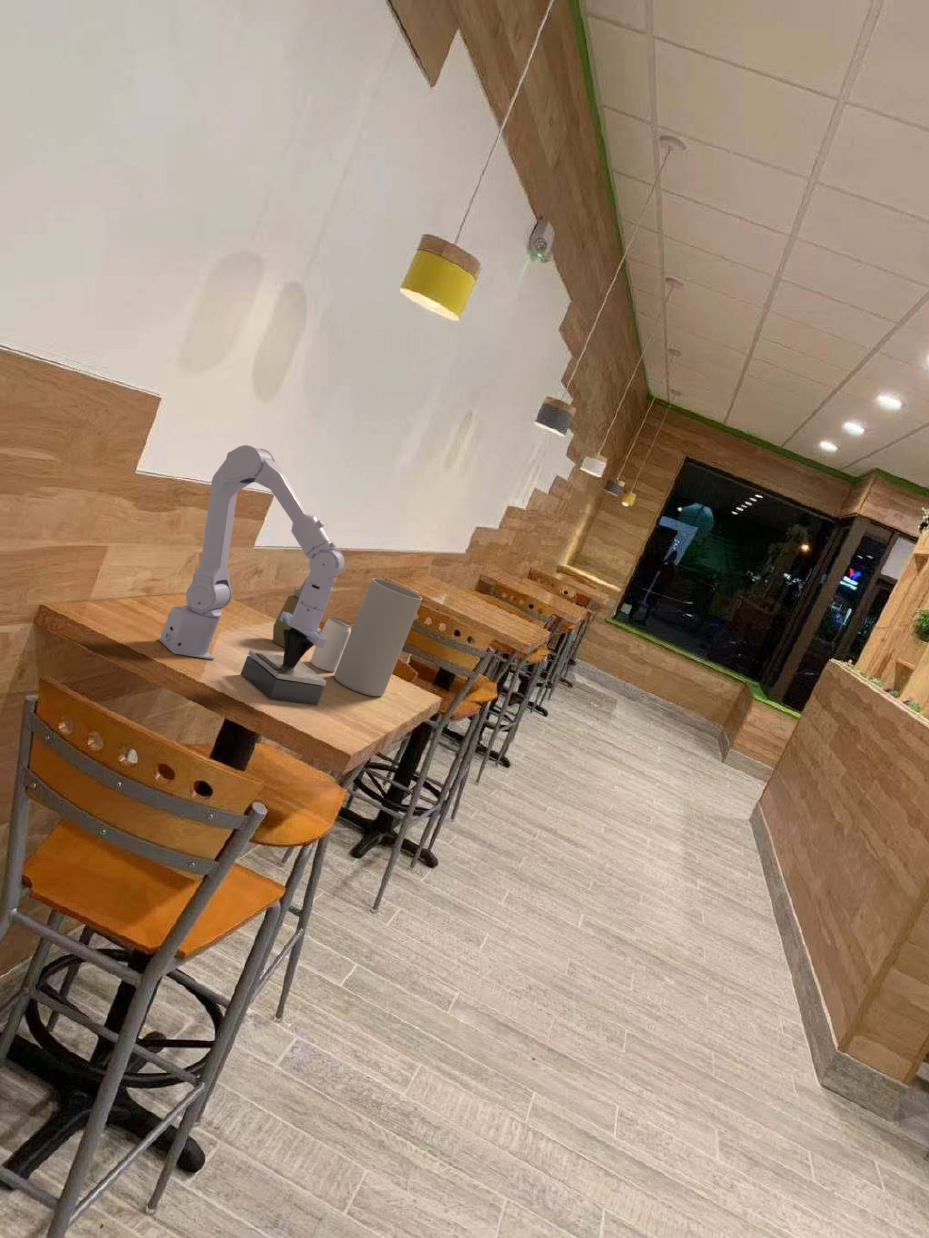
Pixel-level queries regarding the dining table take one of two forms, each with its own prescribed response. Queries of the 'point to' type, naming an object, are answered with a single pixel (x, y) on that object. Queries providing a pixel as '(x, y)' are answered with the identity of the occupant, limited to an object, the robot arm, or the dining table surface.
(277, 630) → the squeeze bottle
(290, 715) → the dining table surface
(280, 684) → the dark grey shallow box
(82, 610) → the dining table surface
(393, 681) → the dining table surface
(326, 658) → the can
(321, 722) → the dining table surface
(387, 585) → the cylinder vase
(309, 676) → the lid
